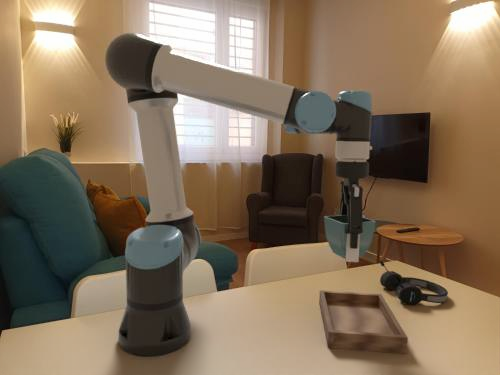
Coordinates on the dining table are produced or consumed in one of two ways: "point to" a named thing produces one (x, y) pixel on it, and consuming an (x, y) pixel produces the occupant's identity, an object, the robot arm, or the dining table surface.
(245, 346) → the dining table surface
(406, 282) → the headset
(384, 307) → the holder tray
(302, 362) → the dining table surface
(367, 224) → the flower pot
